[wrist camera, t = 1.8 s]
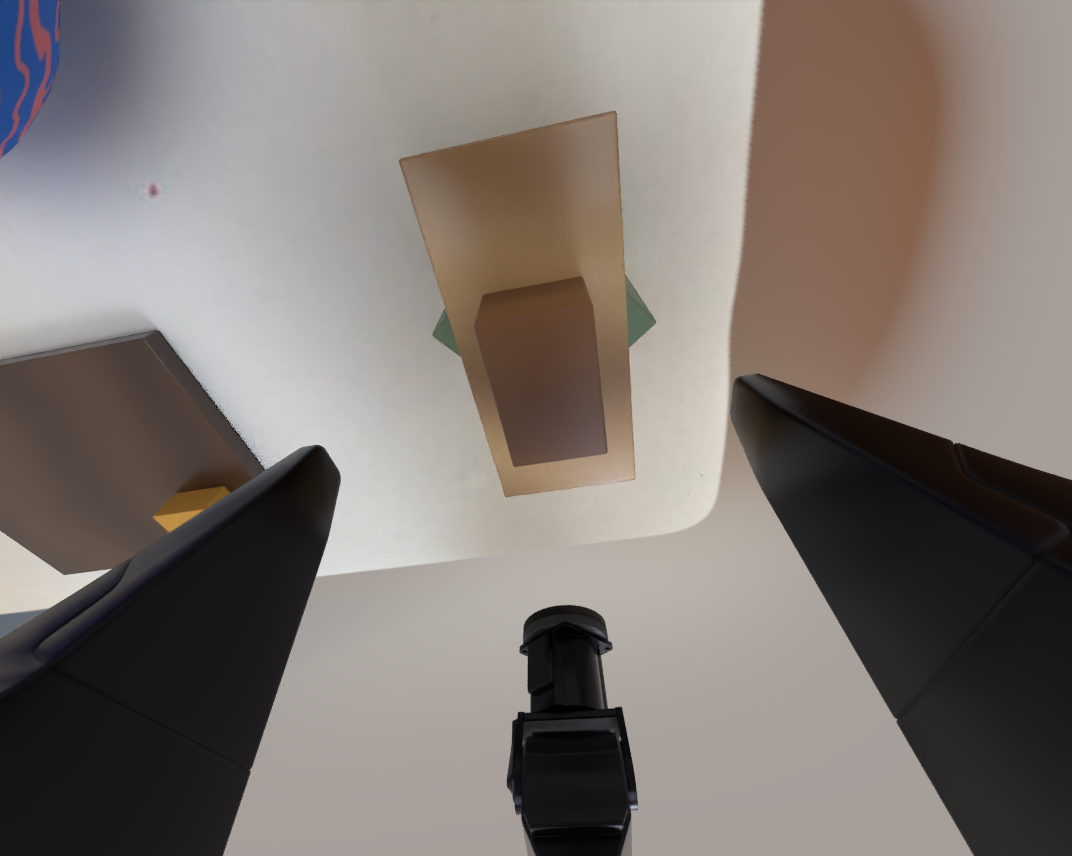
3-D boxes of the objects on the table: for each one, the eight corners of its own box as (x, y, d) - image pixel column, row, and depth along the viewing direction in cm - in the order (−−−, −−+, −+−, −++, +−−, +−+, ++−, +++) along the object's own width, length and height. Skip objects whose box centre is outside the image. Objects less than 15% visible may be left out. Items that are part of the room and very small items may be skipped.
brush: (418, 154, 10) (366, 165, 7) (602, 113, 10) (638, 104, 6) (507, 460, 16) (501, 545, 13) (624, 443, 15) (649, 526, 12)
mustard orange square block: (224, 485, 26) (204, 509, 24) (256, 522, 28) (239, 546, 26) (175, 493, 26) (151, 516, 25) (209, 528, 28) (190, 552, 27)
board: (158, 329, 21) (143, 337, 20) (312, 532, 30) (306, 543, 29) (-163, 391, 23) (-188, 401, 22) (75, 564, 32) (63, 575, 31)
